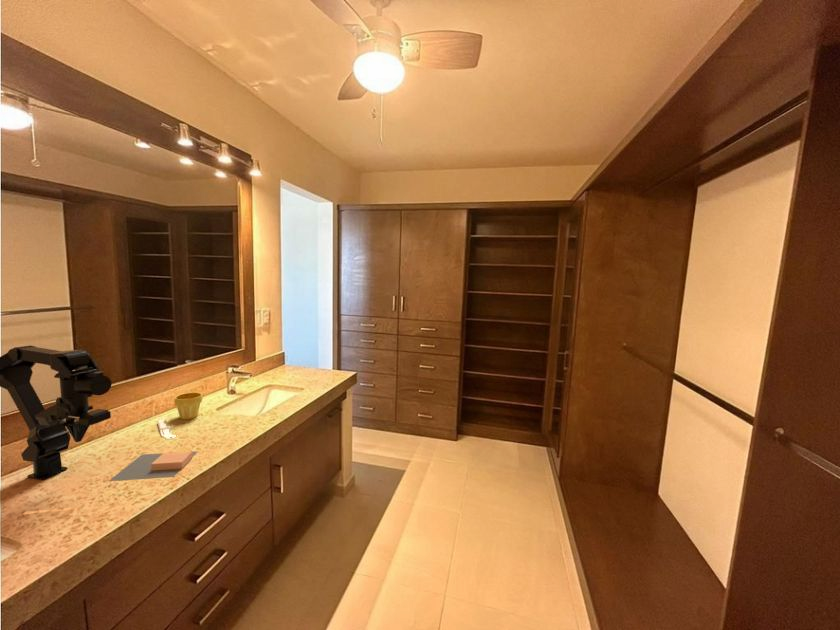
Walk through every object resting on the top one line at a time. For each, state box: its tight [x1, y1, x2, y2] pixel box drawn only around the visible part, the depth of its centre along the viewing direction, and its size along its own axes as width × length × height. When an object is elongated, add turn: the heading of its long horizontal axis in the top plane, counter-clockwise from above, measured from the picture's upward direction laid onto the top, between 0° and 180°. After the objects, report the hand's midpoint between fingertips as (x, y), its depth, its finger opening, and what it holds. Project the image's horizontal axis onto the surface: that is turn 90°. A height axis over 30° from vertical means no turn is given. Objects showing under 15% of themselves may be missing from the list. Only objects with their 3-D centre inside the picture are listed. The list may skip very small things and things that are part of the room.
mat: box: [108, 450, 199, 482], centre depth 113 cm, size 18×16×1 cm
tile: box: [151, 451, 194, 470], centre depth 114 cm, size 2×7×9 cm
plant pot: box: [174, 391, 203, 420], centre depth 153 cm, size 10×10×10 cm
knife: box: [157, 418, 176, 440], centre depth 137 cm, size 30×2×8 cm
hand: (78, 441), depth 104 cm, fingers closed
